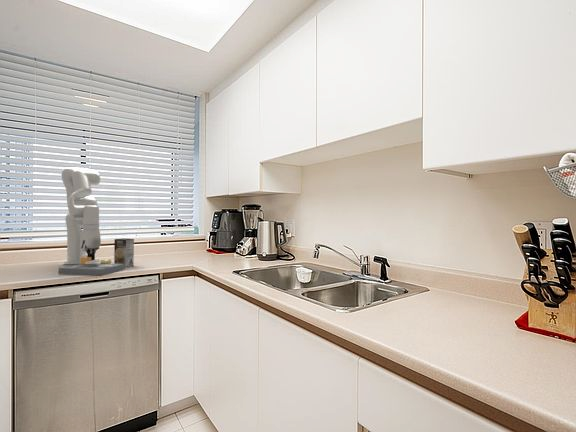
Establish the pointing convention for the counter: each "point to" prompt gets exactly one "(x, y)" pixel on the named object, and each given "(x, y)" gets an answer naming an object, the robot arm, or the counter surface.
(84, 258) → the orange slider
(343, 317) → the counter surface
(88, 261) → the plate
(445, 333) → the counter surface
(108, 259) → the brass button
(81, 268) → the switch panel
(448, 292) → the counter surface
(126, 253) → the coffee box
